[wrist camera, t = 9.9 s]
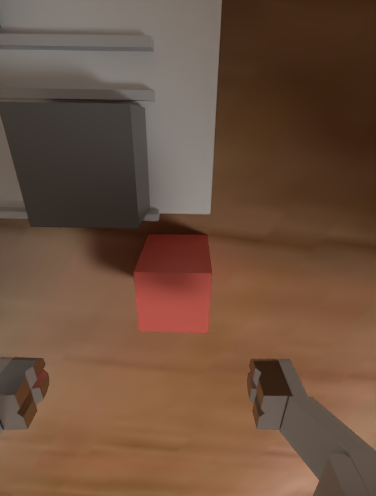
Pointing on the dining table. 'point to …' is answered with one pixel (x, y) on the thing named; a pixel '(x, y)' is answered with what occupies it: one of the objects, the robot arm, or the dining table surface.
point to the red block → (173, 284)
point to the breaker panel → (121, 82)
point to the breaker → (79, 162)
